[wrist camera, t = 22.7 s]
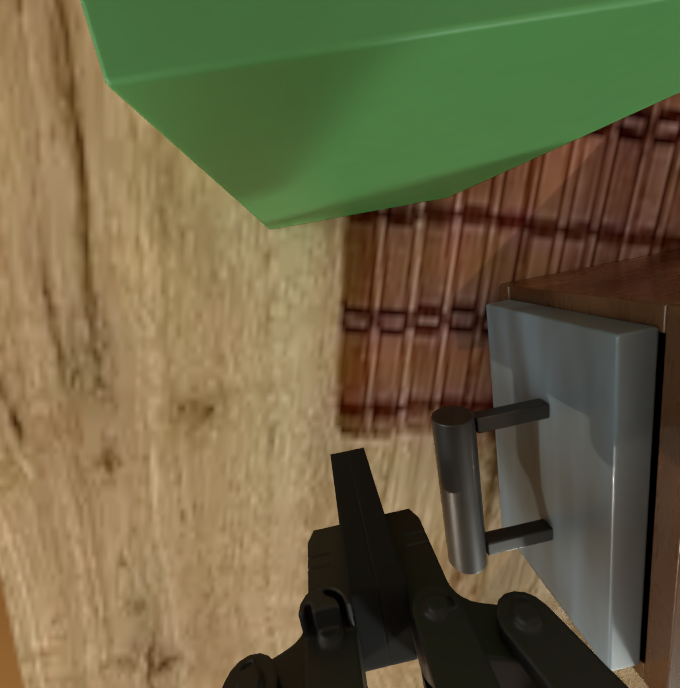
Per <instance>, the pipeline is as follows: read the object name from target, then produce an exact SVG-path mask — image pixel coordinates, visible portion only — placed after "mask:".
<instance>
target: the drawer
mask: <svg viewBox="0 0 680 688" xmlns="http://www.w3.org/2000/svg"><path fill="white" fill-rule="evenodd" d="M486 310H487V323H488V337H489V351H490V365H491V379H492V393H493V407H494V408H490V409H486V410H481V411H476V412H472V411H471V410H469V409H467V408H464V407H458V406H449V407H443V408H440V409H437V410H436V411H434V412H433V413H432V416H431V421H432V429H433V437H434V445H435V453H436V461H437V469H438V477H439V485H440V494H441V502H442V510H443V518H444V526H445V534H446V542H447V550H448V558H449V561H450V563H451V564H452V566H453V567H454V568H455V569H457V570H458V571H460V572H462V573H465V574H477V573H480V572H481V571H483V570H484V569H485V567H486V565H487V554H488V555H493V554H497V553H501V552H505V551H509V550H514V549H519V551H520V552H521V553H522V555H523V556H524V557H525V559H526V560H527V561H528V563H529V564H530V565H531V567H532V568H533V570H534V571H535V572H536V574H537V575H538V576H539V578H540V579H541V580H542V582H543V583H544V584H545V586H546V587H547V588H548V590H549V591H550V593H551V594H552V595H553V597H554V598H555V599H556V601H557V602H558V603H559V605H560V606H561V607H562V609H563V610H564V611H565V613H566V614H567V616H568V617H569V618H570V620H571V621H572V622H573V624H574V625H575V626H576V628H577V629H578V630H579V632H580V633H581V634H582V636H583V637H584V639H585V640H586V641H587V643H588V644H589V645H590V647H591V648H592V649H593V651H594V652H595V653H596V655H597V656H598V657H599V659H600V660H601V661H602V662H603V663H604V664H605V665H606V666H607V667H608V668H609V669H610V670H611V671H615V670H618V669H622V668H626V667H630V666H634V665H638V664H639V663H640V647H641V630H642V613H643V606H644V607H645V609H646V610H647V611H648V609H649V593H650V577H651V562H652V546H653V530H654V514H655V499H656V483H657V467H658V451H659V436H660V420H661V404H662V388H663V373H664V357H665V341H666V333H660V332H659V329H658V328H657V327H655V326H649V325H644V324H639V323H633V322H628V321H623V320H617V319H612V318H606V317H601V316H596V315H590V314H585V313H579V312H574V311H569V310H563V309H558V308H553V307H547V306H542V305H536V304H531V303H526V302H520V301H515V300H510V299H509V300H504V301H499V302H494V303H489V304H487V305H486ZM492 430H495V435H496V449H497V462H498V476H499V490H500V504H501V518H502V528H501V529H496V530H492V531H488V532H485V528H484V517H483V505H482V494H481V483H480V471H479V460H478V449H477V437H476V432H477V433H483V432H487V431H492Z"/></svg>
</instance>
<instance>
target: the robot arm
mask: <svg viewBox="0 0 680 688" xmlns="http://www.w3.org/2000/svg"><path fill="white" fill-rule="evenodd" d="M331 462H332V470H333V478H334V485H335V493H336V501H337V508H338V516H339V524H340V525H337V526H333V527H328V528H324V529H319V530H314V531H313V533H312V535H311V538H310V540H309V542H308V570H309V571H308V594H307V595H306V596H305V598H304V599H303V601H302V603H301V605H300V610H299V618H300V622H301V626H302V630H303V634H302V636H301V637H300V638H299V640H298V641H297V642H296V643H295V644H294V645H293V646H291V647H290V648H289V649H288V650H286V651H285V652H283V653H281V654H280V655H278V656H277V657H275V658H273V659H271V658H270V657H269V656H267V655H264V654H261V653H258V654H253V655H249V656H248V657H246V658H244V659H243V660H241V661H239V663H238V664H237V665H236V666H235V667H234V668H233V669H232V670H231V671H230V673H229V675H228V677H227V679H226V681H225V683H224V685H223V687H222V688H368V686H367V680H366V673H365V672H366V671H370V670H374V669H378V668H382V667H386V666H390V665H394V664H399V663H403V662H407V661H411V660H415V659H417V657H418V660H419V664H420V667H421V671H422V678H423V685H424V688H628V687H627V686H626V685H625V684H624V683H623V682H622V681H621V680H620V679H619V678H618V677H617V676H616V675H615V674H614V673H613V672H612V671H611V670H610V669H609V668H608V667H607V666H606V665H605V664H604V663H603V662H602V661H601V660H600V659H599V658H598V657H597V656H596V655H595V654H594V652H593V651H592V650H591V649H590V648H589V647H588V646H587V645H586V644H585V643H584V642H583V641H582V640H581V639H580V638H579V637H578V636H577V635H576V634H575V633H574V632H573V631H572V630H571V629H570V628H569V627H568V626H567V625H566V624H565V623H564V622H563V621H562V620H561V619H560V618H559V617H558V616H557V615H556V614H555V613H554V612H553V611H552V610H551V609H550V608H549V607H548V606H547V605H546V604H544V603H543V602H542V601H540V600H539V599H538V598H537V597H535V596H532V595H530V594H527V593H525V592H516V591H513V592H510V593H506V594H504V595H503V596H502V597H501V598H500V599H499V600H498V604H497V605H494V604H485V603H477V602H473V601H470V600H467V599H465V598H463V597H461V596H460V595H459V594H457V593H456V592H455V591H454V590H453V589H452V588H451V587H450V585H449V583H448V582H447V580H446V578H445V575H444V573H443V571H442V569H441V566H440V564H439V562H438V560H437V557H436V555H435V553H434V551H433V548H432V546H431V544H430V542H429V539H428V537H427V535H426V533H425V531H424V528H423V526H422V524H421V521H420V519H419V518H418V517H417V516H416V515H415V514H414V513H413V512H412V511H411V510H410V509H406V510H401V511H397V512H392V513H388V514H384V511H383V508H382V505H381V502H380V498H379V495H378V492H377V489H376V486H375V483H374V479H373V476H372V473H371V470H370V467H369V463H368V460H367V457H366V454H365V451H364V448H360V449H355V450H350V451H345V452H341V453H336V454H331Z"/></svg>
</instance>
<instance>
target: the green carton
mask: <svg viewBox="0 0 680 688" xmlns="http://www.w3.org/2000/svg"><path fill="white" fill-rule="evenodd" d="M80 1H81V4H82V7H83V10H84V14H85V17H86V20H87V23H88V27H89V30H90V33H91V37H92V40H93V43H94V46H95V50H96V53H97V56H98V60H99V63H100V66H101V69H102V73H103V76H104V79H105V82H106V83H107V85H108V86H109V87H110V88H111V89H112V90H113V91H114V92H115V93H117V94H118V95H119V96H120V97H121V98H122V99H123V100H124V101H126V102H127V103H128V104H129V105H130V106H131V107H132V108H133V109H135V110H136V111H137V112H138V113H139V114H140V115H141V116H143V117H144V118H145V119H146V120H147V121H148V122H149V123H150V124H152V125H153V126H154V127H155V128H156V129H157V130H158V131H159V132H161V133H162V134H163V135H164V136H165V137H166V138H167V139H168V140H170V141H171V142H172V143H173V144H174V145H175V146H176V147H177V148H179V149H180V150H181V151H182V152H183V153H184V154H185V155H186V156H188V157H189V158H190V159H191V160H192V161H193V162H194V163H196V164H197V165H198V166H199V167H200V168H201V169H202V170H203V171H205V172H206V173H207V174H208V175H209V176H210V177H211V178H212V179H214V180H215V181H216V182H217V183H218V184H219V185H220V186H221V187H223V188H224V189H225V190H226V191H227V192H228V193H229V194H230V195H232V196H233V197H234V198H235V199H236V200H237V201H238V202H239V203H241V204H242V205H243V206H244V207H245V208H246V209H247V210H249V211H250V212H251V213H252V214H253V215H254V216H255V217H256V218H258V219H259V220H260V221H261V222H262V223H263V224H264V225H265V226H267V227H268V228H269V229H276V228H282V227H287V226H293V225H298V224H304V223H309V222H315V221H321V220H326V219H332V218H337V217H343V216H348V215H354V214H359V213H365V212H370V211H376V210H381V209H387V208H393V207H398V206H404V205H409V204H415V203H420V202H426V201H431V200H437V199H442V198H448V197H450V196H452V195H454V194H457V193H459V192H461V191H463V190H465V189H468V188H470V187H472V186H474V185H477V184H479V183H481V182H483V181H485V180H488V179H490V178H492V177H494V176H496V175H499V174H501V173H503V172H505V171H507V170H510V169H512V168H514V167H516V166H518V165H521V164H523V163H525V162H527V161H529V160H532V159H534V158H536V157H538V156H541V155H543V154H545V153H547V152H549V151H552V150H554V149H556V148H558V147H560V146H563V145H565V144H567V143H569V142H571V141H574V140H576V139H578V138H580V137H582V136H585V135H587V134H589V133H591V132H594V131H596V130H598V129H600V128H602V127H605V126H607V125H609V124H611V123H613V122H616V121H618V120H620V119H622V118H624V117H627V116H629V115H631V114H633V113H635V112H638V111H640V110H642V109H644V108H647V107H649V106H651V105H653V104H655V103H658V102H660V101H662V100H664V99H666V98H669V97H671V96H673V95H675V94H677V93H680V0H80Z"/></svg>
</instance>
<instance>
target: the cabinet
mask: <svg viewBox="0 0 680 688" xmlns="http://www.w3.org/2000/svg"><path fill="white" fill-rule="evenodd" d="M500 299H501V301H504V300H509V299H510V300H515V301H520V302H526V303H531V304H536V305H542V306H547V307H553V308H558V309H563V310H569V311H574V312H579V313H585V314H590V315H596V316H601V317H606V318H612V319H617V320H623V321H628V322H633V323H639V324H644V325H649V326H655V327H657V328H658V329H659V332H660V333H666V341H665V357H664V373H663V388H662V404H661V420H660V436H659V451H658V467H657V483H656V499H655V514H654V530H653V546H652V562H651V577H650V593H649V609H648V611H647V610H646V609H645V607H644V606H643V613H642V630H641V647H640V663H639V664H638V665H634V666H632V667H633V668H634V669H635V670H636V672H637V673H638V674H639V675H640V677H641V678H642V679H644V681H645V683H646V684H647V685H648V686H649V688H680V249H679V250H674V251H669V252H664V253H659V254H653V255H648V256H643V257H638V258H633V259H628V260H623V261H618V262H613V263H607V264H602V265H597V266H592V267H587V268H582V269H577V270H572V271H567V272H561V273H556V274H551V275H546V276H541V277H536V278H531V279H526V280H521V281H516V282H510V283H505V284H501V285H500Z"/></svg>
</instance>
